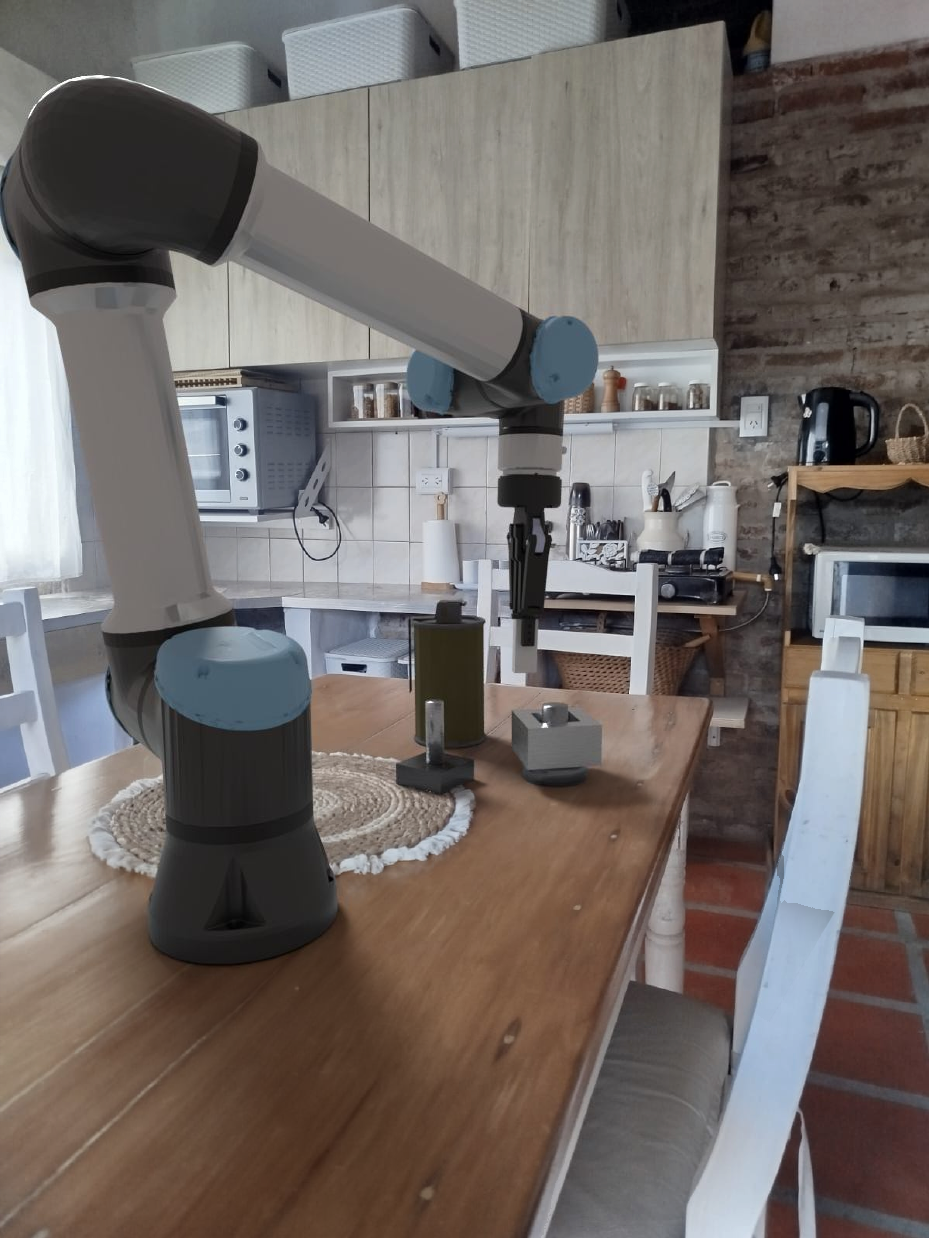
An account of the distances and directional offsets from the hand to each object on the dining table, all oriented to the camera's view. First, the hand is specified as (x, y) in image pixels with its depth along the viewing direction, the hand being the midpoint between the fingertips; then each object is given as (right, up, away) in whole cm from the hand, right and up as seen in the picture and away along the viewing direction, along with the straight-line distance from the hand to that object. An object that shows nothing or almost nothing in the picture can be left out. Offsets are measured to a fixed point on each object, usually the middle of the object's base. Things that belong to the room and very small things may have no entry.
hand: (524, 671), depth 102 cm
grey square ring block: (+4, -11, +3) cm, 12 cm away
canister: (-9, -11, +20) cm, 25 cm away
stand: (-11, -14, +1) cm, 17 cm away
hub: (+4, -13, +3) cm, 14 cm away
